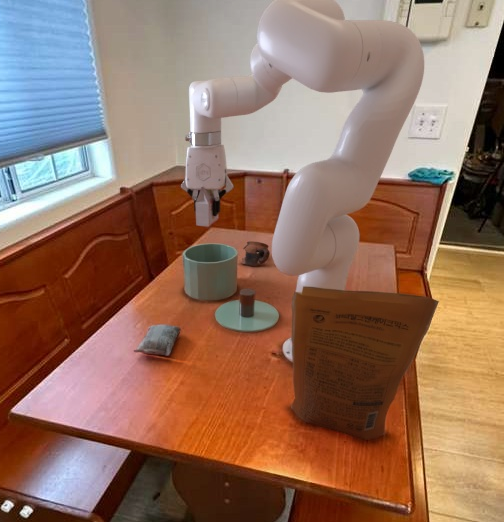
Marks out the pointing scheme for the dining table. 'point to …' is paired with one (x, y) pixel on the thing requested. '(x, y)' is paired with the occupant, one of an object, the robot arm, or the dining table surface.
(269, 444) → the dining table surface
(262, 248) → the pottery mug
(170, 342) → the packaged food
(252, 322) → the lid
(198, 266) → the pot
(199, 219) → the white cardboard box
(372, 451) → the dining table surface
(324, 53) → the robot arm
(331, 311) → the pancake mix bag
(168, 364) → the dining table surface
